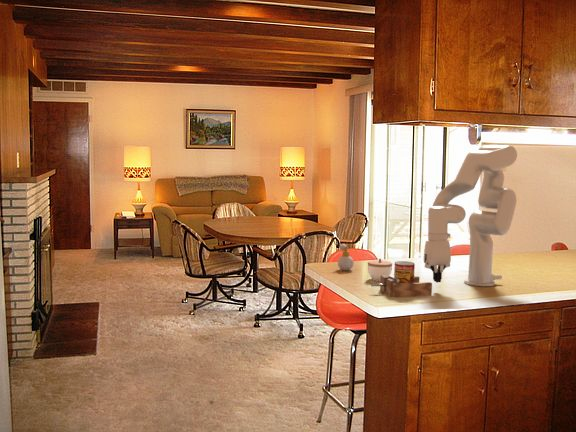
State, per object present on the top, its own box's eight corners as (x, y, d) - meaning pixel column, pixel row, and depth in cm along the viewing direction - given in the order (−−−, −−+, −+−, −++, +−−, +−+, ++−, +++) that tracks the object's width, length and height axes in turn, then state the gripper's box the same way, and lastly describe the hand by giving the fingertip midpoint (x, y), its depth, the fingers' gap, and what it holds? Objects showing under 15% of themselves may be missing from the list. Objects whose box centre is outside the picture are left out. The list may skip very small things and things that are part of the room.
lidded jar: (362, 278, 274) (363, 257, 273) (383, 276, 278) (384, 256, 277) (375, 283, 264) (376, 261, 263) (396, 281, 268) (397, 260, 267)
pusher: (390, 289, 251) (390, 274, 250) (398, 294, 242) (399, 279, 241) (367, 289, 249) (367, 275, 248) (375, 295, 240) (375, 280, 239)
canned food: (391, 293, 245) (392, 263, 244) (396, 289, 252) (397, 260, 251) (411, 295, 242) (412, 265, 241) (415, 291, 249) (416, 262, 248)
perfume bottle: (344, 272, 287) (345, 246, 285) (331, 268, 294) (331, 244, 293) (356, 270, 291) (357, 245, 290) (343, 267, 299) (343, 242, 298)
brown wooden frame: (417, 288, 255) (418, 273, 255) (431, 295, 242) (432, 280, 242) (379, 289, 252) (379, 274, 251) (391, 296, 239) (391, 281, 238)
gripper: (450, 234, 253) (450, 278, 255) (416, 236, 250) (416, 280, 252) (459, 237, 246) (458, 282, 248) (424, 239, 243) (423, 285, 245)
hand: (437, 281), depth 250 cm, fingers closed
